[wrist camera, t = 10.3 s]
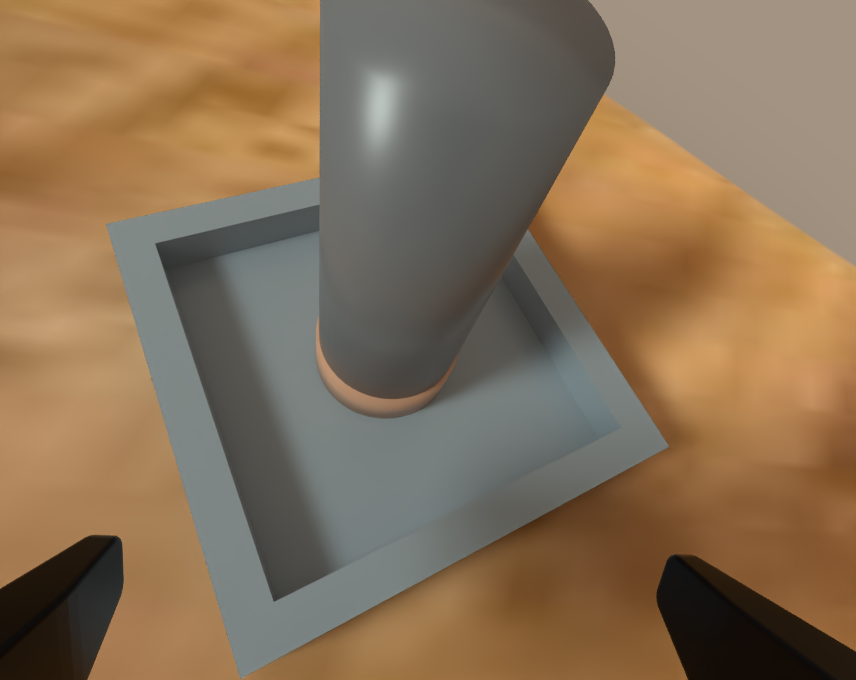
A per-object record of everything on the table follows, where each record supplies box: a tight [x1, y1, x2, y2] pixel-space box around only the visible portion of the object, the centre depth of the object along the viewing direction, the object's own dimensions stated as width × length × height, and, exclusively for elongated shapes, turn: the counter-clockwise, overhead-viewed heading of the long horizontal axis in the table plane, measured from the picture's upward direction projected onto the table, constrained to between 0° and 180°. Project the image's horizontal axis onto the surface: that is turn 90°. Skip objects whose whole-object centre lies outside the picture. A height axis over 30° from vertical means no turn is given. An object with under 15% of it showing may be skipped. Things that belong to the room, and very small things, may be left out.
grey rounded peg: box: [316, 0, 615, 419], centre depth 13 cm, size 5×5×12 cm
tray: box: [106, 178, 669, 679], centre depth 18 cm, size 14×14×2 cm
